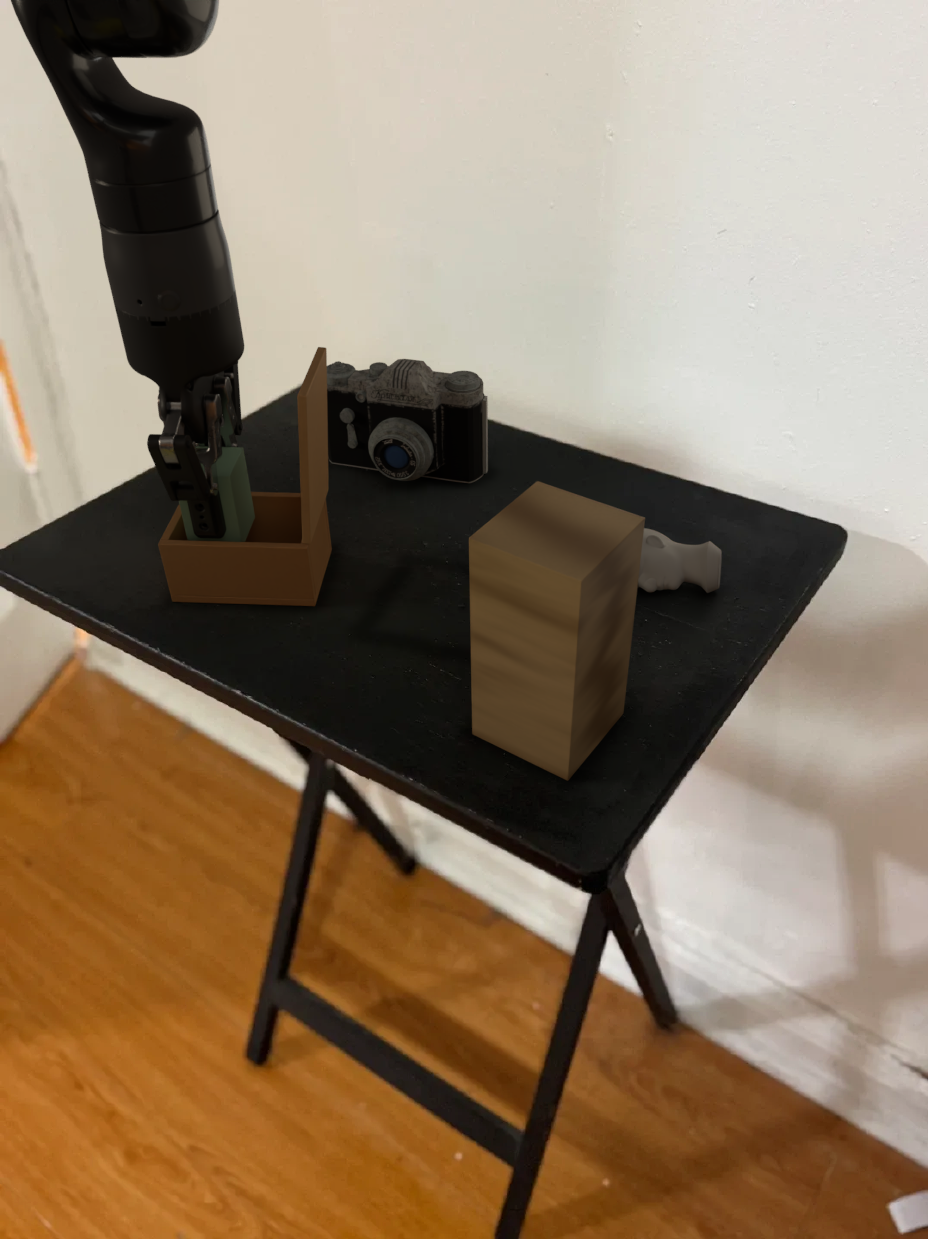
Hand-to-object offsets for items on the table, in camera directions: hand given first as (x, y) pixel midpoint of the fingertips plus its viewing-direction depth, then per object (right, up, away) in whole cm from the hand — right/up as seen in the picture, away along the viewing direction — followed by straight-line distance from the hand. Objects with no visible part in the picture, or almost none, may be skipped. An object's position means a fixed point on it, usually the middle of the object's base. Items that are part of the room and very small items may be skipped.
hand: (219, 517), depth 75 cm
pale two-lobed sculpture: (+33, -5, +1) cm, 33 cm away
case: (+2, -4, +3) cm, 6 cm away
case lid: (+7, +4, -4) cm, 10 cm away
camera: (+12, +5, +15) cm, 20 cm away
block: (0, -1, +1) cm, 1 cm away
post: (+23, -14, -10) cm, 29 cm away
